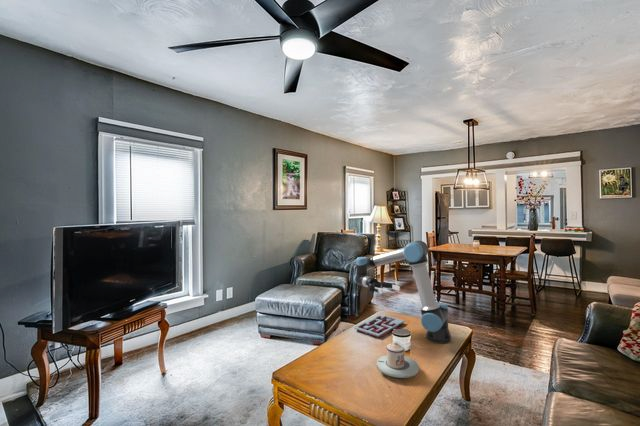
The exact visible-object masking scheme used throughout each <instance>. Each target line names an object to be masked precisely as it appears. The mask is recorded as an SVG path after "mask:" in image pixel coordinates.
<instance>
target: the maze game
mask: <svg viewBox="0 0 640 426" xmlns="http://www.w3.org/2000/svg"><path fill="white" fill-rule="evenodd" d="M404 322H406V320H405V319H400V318H398V317H393V316H390V315H386V314H382V313H381V314H378V315H377V316H375V317H373V318H370V319H369V320H367V321H365V322H363V323H360V324H358V325H356V326H354V327H353V328H354V329H355V330H356V332H359V333H361V334H365V335H369V336H371V337H375V338H378V339H380V338H382V337H383V336H385V335H386V334H388V333H390V332H391V331H392V330H393V329H395V328H397V329H398V327H399V326H400V325H402V324H403V323H404ZM395 330H396V329H395ZM393 331H394V330H393Z"/></svg>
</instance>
